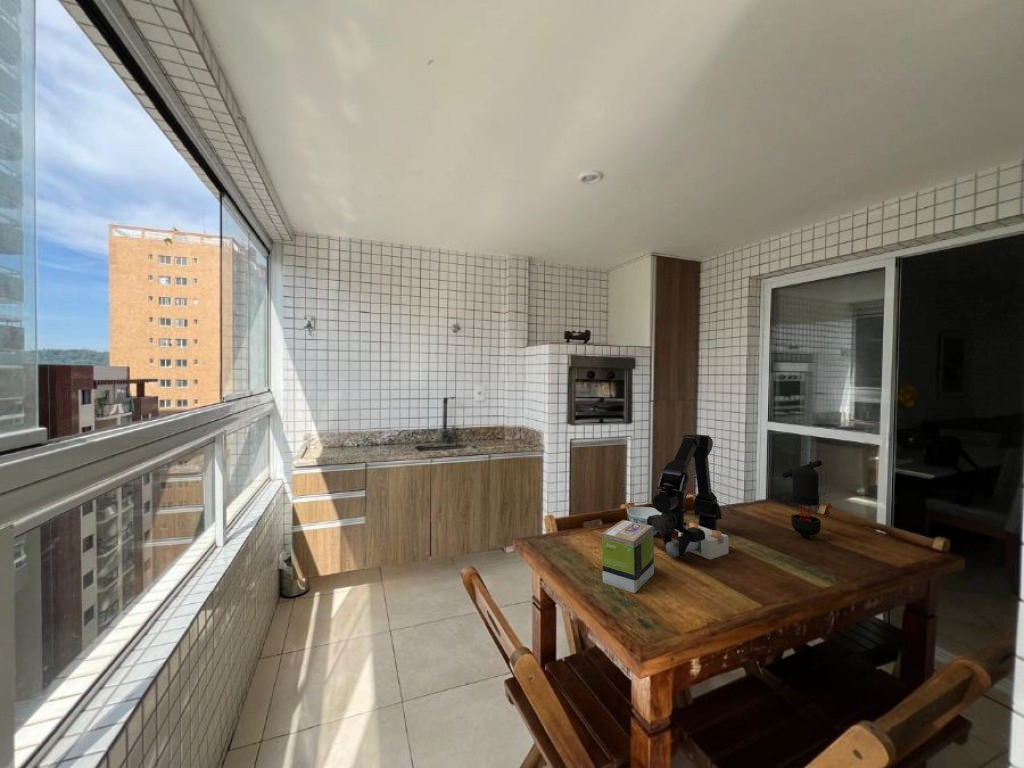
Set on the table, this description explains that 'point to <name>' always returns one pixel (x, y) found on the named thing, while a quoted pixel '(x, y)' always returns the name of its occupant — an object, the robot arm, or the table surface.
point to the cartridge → (673, 547)
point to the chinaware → (642, 515)
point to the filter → (805, 497)
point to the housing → (711, 545)
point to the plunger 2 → (716, 534)
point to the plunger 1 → (693, 525)
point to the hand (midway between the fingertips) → (674, 553)
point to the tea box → (627, 555)
